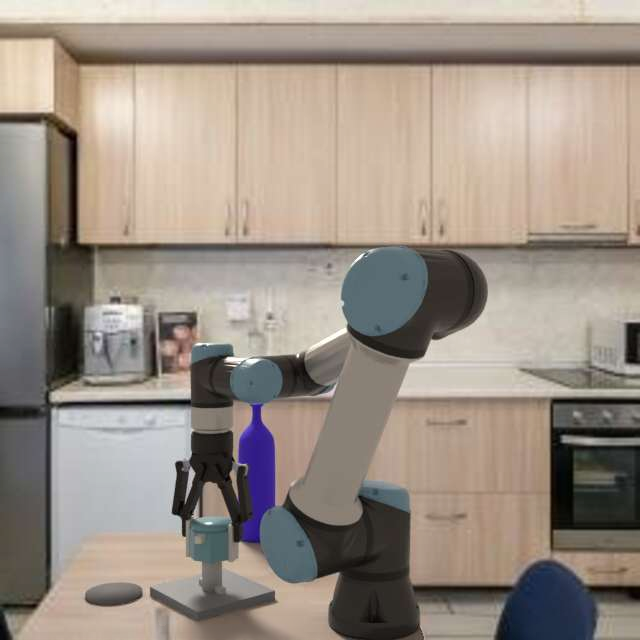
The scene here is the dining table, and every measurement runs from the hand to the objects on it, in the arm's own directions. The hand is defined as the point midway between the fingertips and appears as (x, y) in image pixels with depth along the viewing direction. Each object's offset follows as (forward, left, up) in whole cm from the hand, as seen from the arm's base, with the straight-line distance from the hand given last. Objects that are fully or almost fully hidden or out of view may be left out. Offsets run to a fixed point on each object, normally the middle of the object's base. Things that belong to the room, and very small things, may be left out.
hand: (212, 557), depth 151 cm
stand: (0, 0, -7) cm, 7 cm away
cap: (0, 0, 0) cm, 0 cm away
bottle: (+25, -28, -7) cm, 38 cm away
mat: (+12, +13, -7) cm, 19 cm away
